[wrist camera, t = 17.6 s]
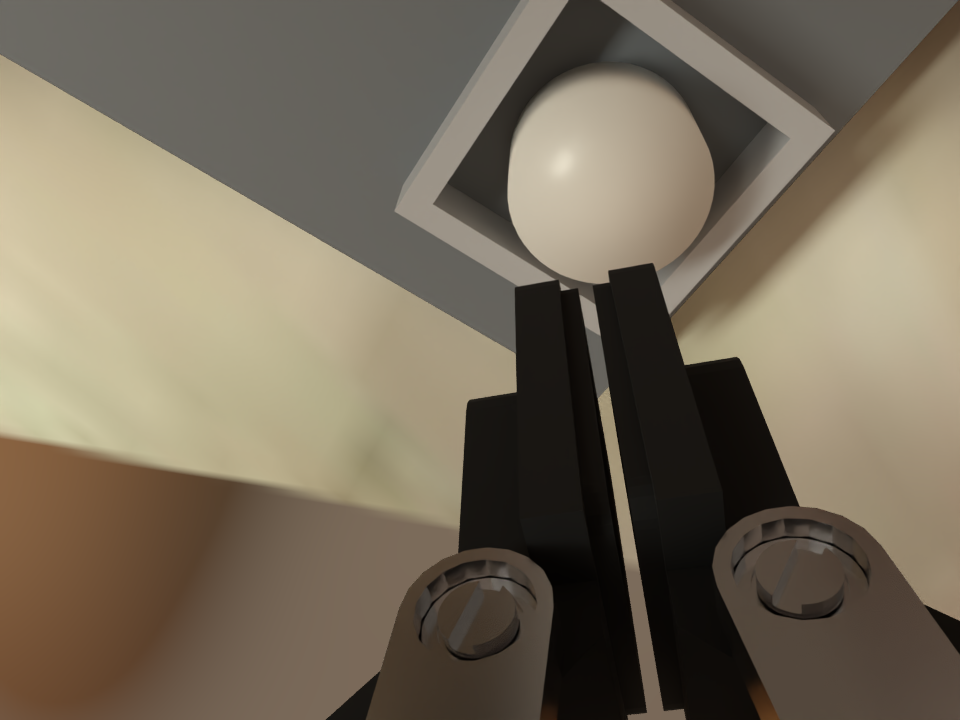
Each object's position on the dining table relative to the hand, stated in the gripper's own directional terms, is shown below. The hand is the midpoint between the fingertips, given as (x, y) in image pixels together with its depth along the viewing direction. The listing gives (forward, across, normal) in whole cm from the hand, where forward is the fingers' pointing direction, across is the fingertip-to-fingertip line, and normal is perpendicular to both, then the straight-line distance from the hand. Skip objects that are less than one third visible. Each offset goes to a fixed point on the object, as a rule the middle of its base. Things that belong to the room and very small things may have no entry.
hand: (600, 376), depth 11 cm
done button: (+9, -1, +1) cm, 9 cm away
